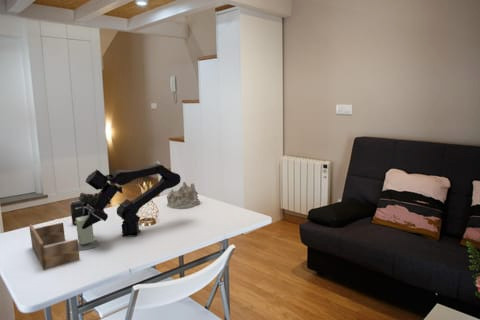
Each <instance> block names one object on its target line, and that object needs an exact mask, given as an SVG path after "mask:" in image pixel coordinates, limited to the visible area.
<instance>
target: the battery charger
mask: <svg viewBox="0 0 480 320" xmlns="http://www.w3.org/2000/svg"><path fill="white" fill-rule="evenodd" d="M81 203H82V202H80V200H79V199H78V200H73V201H71V202H70V203H69V210H70V211H69V212H70V216H71V217H70V218H71V224H72V225H74V226H77V225H76V218H78V217H82V214H83V208H82V206H83V207H85V206H84V205H82V204H81Z"/></svg>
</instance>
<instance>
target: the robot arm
mask: <svg viewBox="0 0 480 320" xmlns="http://www.w3.org/2000/svg"><path fill="white" fill-rule="evenodd" d="M155 175H159V176H160V179H159V180H158V182H157V183H155V184H154V185H152V186H151V187H150V188H148V189H147V190H145V191H144V192H143V193H141V194H140V195H139V196H137V197H136V198H134V199H132V200H129V199H128V198H126V199H125V200H124V201H123V202H121V203H119V206H118V207H117V208H116V214H117V216H118V217H120V218H121V220H123V221H122V222H121V223H122V224H121V233H122V235H121V236H122V237H137V236H138V235H139V234H140V232H141V229H140V224H139V222H140V218H141V216H139V215H138V213H139V211H140V209H141V208H142V207H143V206H145V205H146V204H148V203H149V202H150V201H152V200H153V199H155V198H156V197H157V196H158V195H160V194H161V193H163V192H164V191H165V190H169V189H171V188H172V189H173V188H174V187H176V186H178V185H179V184H180V183H181V175H180V174H179V173H176V172H173V171H171V170H170V169H168V168H167V167H165V166H164V165H163V164H159V163H156V164H154V165H148V166H144V167H139V168H135V169H116V170H114V171H113V172H112V173H109V174H106V175H105V174H103V173H102V172H101V171H100V170H98V169H95V171H92V172H91V173H90V174H89V175H88V176H87V178H86V179H85V183H86V184H87V185H88V186H90V187H92V188H93V189H95V190H96V191H98V190H100V191H99V192H98V193H95V194H94V195H93V194H92V193H85V192H80V195H79V197H78V200H80V202H82V203H81V204H82V205H84V206H85V207H83V206H82V208H83V214H82V217H83V216H88V218H87V219H86V221H85V223H84V224H83V226H82V229H85V228H87V227H89V226H91V225H92V226H93V225H94V224H97V223H99V222H100V221H104V222H106V221H107V219H108V218H109V215H108V213H106V212H105V210H104V209H105V208H106V207H107V205H111V204H112V203H111V201H112V199H113V198H114V197H115V195H116V194H117V192H118V193H120V194H123V193H124V192H123V186H125V185H128V184H130V183H131V182H133V181H134V180H137V179H142V178H145V177H150V176H155ZM109 182H110V183H109ZM118 185H119V186H118Z"/></svg>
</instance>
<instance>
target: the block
mask: <svg viewBox="0 0 480 320" xmlns="http://www.w3.org/2000/svg"><path fill="white" fill-rule="evenodd" d="M87 218H88V216H83V217H78V218H76V225H75V226H76V232H77V233H76V234H77V240H78V242H80V243H81V244H85V243H89V242H93V241H94V240H95V235H94V228H93V225H91V226H89V227H87V228H85V229H82V226H83V224H84V223H85V221H86V219H87Z"/></svg>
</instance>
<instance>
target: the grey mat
mask: <svg viewBox="0 0 480 320" xmlns="http://www.w3.org/2000/svg"><path fill="white" fill-rule="evenodd" d="M99 245H100V241H99V240H98V239H94V241H93V242H89V243H85V244H81V243H80V242H79V241H78V248H79V251H88V250H92V249H95V248H96V247H98V246H99Z"/></svg>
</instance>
